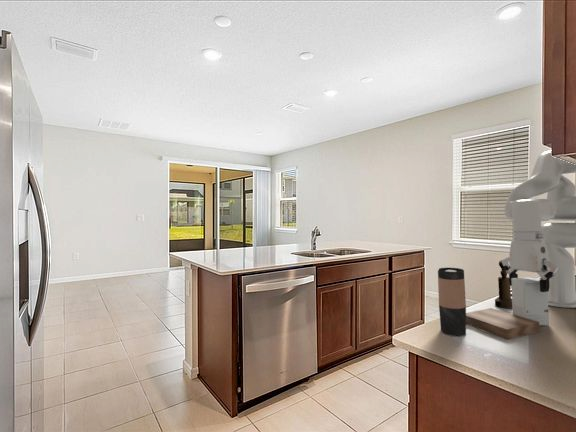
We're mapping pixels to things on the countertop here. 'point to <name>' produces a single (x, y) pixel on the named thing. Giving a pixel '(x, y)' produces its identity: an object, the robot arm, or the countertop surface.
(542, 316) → the skincare box
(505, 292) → the wooden pepper mill
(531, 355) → the countertop surface
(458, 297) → the travel mug
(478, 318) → the walnut base board
